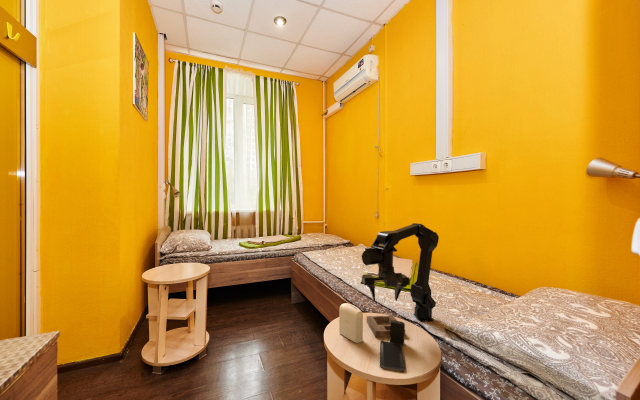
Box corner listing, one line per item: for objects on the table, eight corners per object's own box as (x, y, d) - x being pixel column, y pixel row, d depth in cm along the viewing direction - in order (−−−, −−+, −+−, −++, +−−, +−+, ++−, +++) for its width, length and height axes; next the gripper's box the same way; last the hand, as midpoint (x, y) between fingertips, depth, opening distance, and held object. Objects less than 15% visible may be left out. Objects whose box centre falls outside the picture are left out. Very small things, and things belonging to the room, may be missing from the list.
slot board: (393, 321, 111) (393, 315, 111) (405, 336, 99) (405, 330, 99) (366, 321, 110) (366, 316, 110) (375, 337, 98) (375, 331, 98)
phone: (379, 366, 80) (380, 340, 94) (379, 369, 80) (380, 343, 94) (405, 370, 78) (402, 343, 92) (405, 374, 78) (402, 346, 92)
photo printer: (337, 333, 101) (337, 302, 101) (345, 329, 103) (345, 299, 103) (356, 344, 93) (357, 311, 93) (364, 340, 95) (364, 308, 95)
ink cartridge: (404, 343, 94) (405, 322, 94) (403, 346, 92) (404, 324, 92) (390, 340, 96) (391, 319, 96) (389, 343, 94) (390, 321, 94)
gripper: (368, 268, 95) (368, 309, 95) (416, 267, 96) (415, 308, 96) (361, 260, 106) (361, 297, 106) (404, 260, 108) (404, 297, 108)
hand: (385, 300), depth 104 cm, fingers open, 9 cm apart
